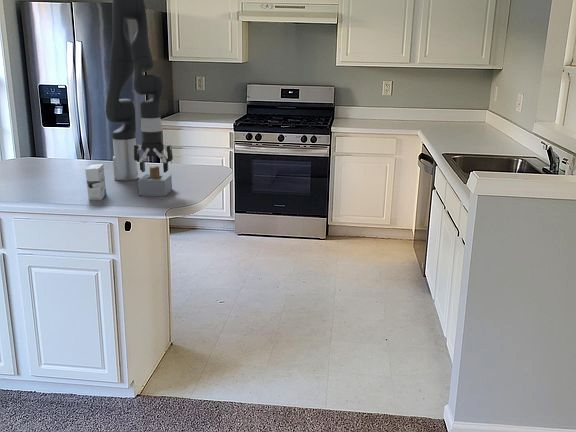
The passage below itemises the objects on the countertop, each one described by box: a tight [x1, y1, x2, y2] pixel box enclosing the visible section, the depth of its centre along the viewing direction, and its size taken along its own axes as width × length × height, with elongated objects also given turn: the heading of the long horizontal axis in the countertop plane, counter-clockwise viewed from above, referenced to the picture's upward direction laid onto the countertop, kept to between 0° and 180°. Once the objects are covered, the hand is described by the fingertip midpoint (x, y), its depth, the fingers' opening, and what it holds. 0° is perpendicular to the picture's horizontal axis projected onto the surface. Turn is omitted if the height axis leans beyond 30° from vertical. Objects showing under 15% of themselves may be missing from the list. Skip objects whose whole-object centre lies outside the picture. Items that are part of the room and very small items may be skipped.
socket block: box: [137, 173, 173, 197], centre depth 217 cm, size 10×10×6 cm
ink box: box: [85, 163, 107, 201], centre depth 210 cm, size 8×5×12 cm, turn 5°
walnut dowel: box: [149, 165, 161, 179], centre depth 217 cm, size 4×4×10 cm
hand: (154, 171), depth 216 cm, fingers open, 8 cm apart
